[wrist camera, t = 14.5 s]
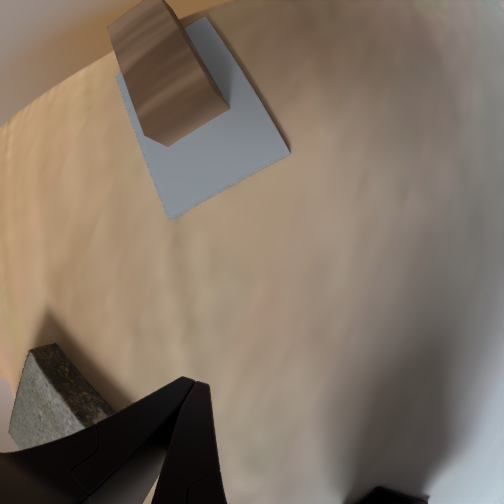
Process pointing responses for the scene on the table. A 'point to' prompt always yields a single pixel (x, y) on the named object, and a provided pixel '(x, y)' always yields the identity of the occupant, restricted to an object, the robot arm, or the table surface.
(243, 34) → the table surface
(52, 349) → the stone block
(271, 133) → the mat
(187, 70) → the walnut slab
